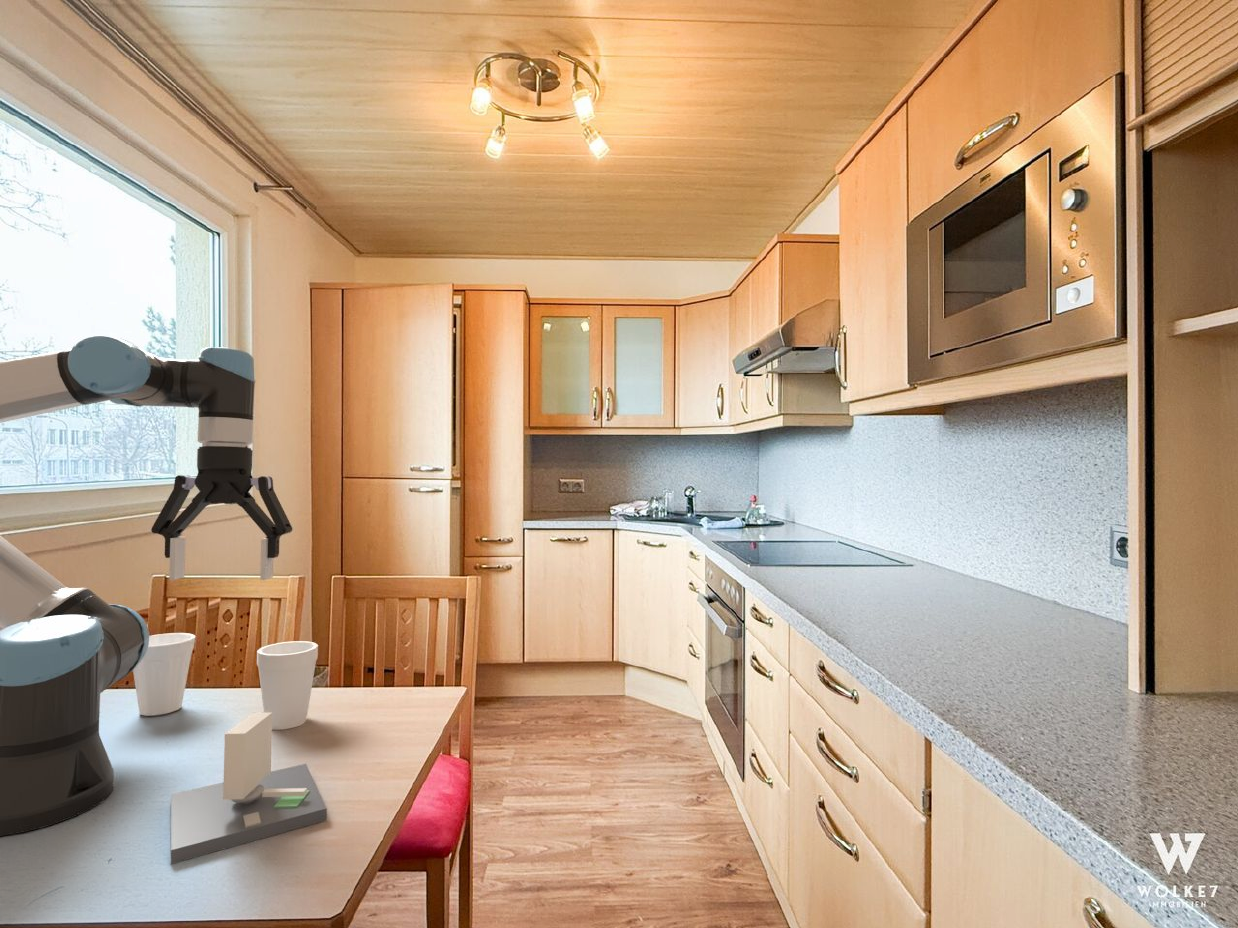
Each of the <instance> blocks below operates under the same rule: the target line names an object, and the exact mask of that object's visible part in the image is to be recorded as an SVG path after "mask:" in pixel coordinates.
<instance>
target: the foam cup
mask: <svg viewBox="0 0 1238 928" xmlns="http://www.w3.org/2000/svg"><path fill="white" fill-rule="evenodd" d="M318 656H319V644H317V643H316V642H312V641H308V640H307V641H306V640H305V641H304V640H300V641H299V640H296V641H295V640H293V641H283V642H282V641H281V642H277V643H272V644H268V645H265V646H262V647H260V648H259V649H257V651H256V666H257V667H258V675H259V683H260V692H261V700H262V707H263V713H270V712H272V731H273V730H274V731H275V730H279V731H280V730H281V731H282V730H288V729H292V728H296V727H299V726H301V725H303V724H304V723H306V721H307V717H308V713H309V706H310V700H311V696H312V695H311V694H312V688H313V683H314V682H313V681H314V676H315V669H316V663H317V660H318V658H319V657H318Z"/></svg>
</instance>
